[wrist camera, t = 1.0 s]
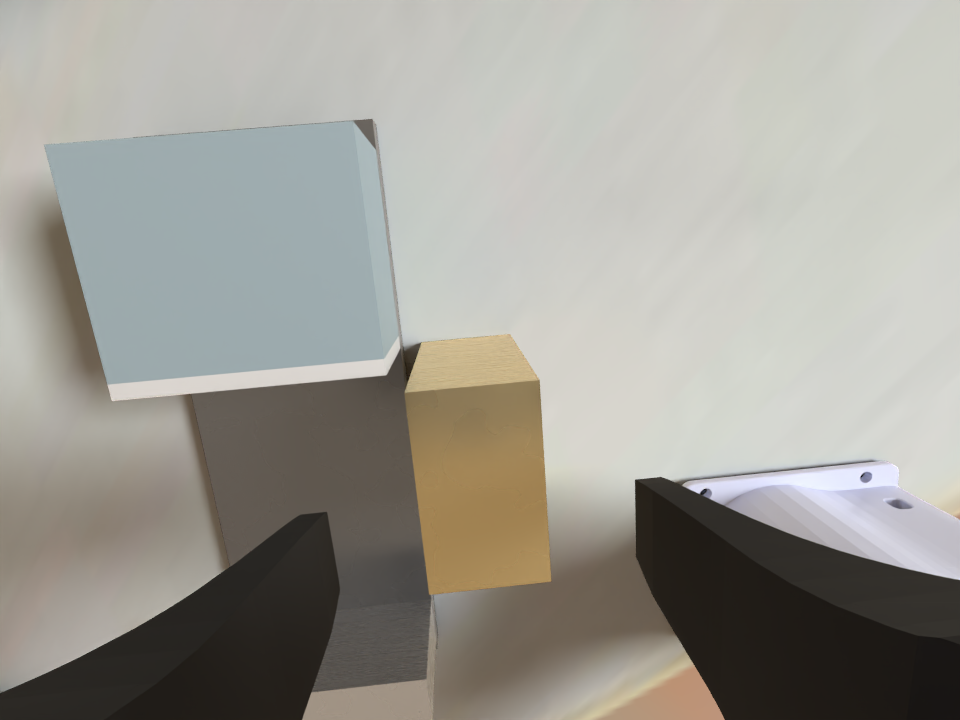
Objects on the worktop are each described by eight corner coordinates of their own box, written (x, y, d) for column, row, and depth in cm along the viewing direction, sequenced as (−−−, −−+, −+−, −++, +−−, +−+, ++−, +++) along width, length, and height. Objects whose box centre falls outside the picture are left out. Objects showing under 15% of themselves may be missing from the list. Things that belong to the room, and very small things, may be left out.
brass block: (509, 334, 20) (539, 380, 13) (519, 472, 21) (551, 581, 14) (421, 342, 19) (403, 392, 13) (437, 481, 21) (428, 594, 14)
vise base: (376, 124, 18) (348, 80, 13) (437, 634, 22) (433, 736, 18) (147, 142, 17) (34, 103, 13) (260, 654, 22) (208, 763, 17)
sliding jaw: (375, 150, 17) (353, 121, 13) (400, 348, 19) (386, 375, 15) (139, 168, 17) (43, 144, 13) (184, 368, 18) (111, 401, 14)
